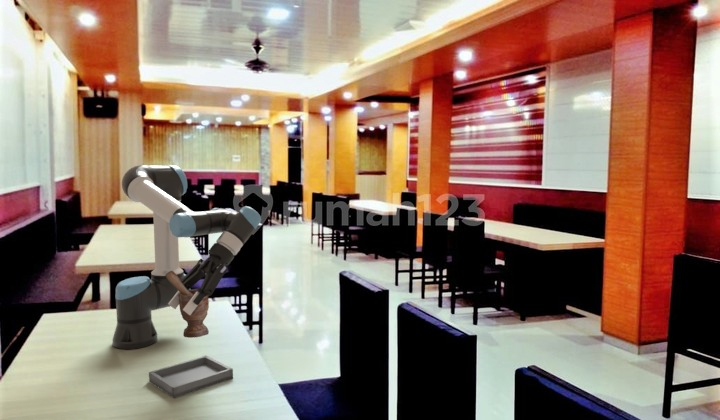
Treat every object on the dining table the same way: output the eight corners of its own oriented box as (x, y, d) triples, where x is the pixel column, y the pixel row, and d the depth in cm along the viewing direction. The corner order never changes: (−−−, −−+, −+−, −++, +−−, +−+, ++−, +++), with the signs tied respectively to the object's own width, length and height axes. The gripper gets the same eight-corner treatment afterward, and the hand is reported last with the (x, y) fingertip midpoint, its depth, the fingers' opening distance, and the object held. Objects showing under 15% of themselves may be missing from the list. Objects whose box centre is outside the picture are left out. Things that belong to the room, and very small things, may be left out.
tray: (149, 381, 160) (148, 372, 159) (206, 364, 173) (206, 355, 173) (173, 398, 149) (173, 387, 148) (233, 378, 162) (232, 368, 162)
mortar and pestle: (174, 343, 153) (170, 274, 151) (166, 335, 160) (163, 270, 158) (213, 335, 159) (210, 269, 158) (205, 328, 166) (202, 265, 165)
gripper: (251, 260, 161) (205, 323, 151) (215, 252, 176) (171, 309, 166) (236, 245, 157) (187, 309, 147) (200, 238, 172) (153, 296, 162)
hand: (178, 309), depth 157 cm, fingers closed on mortar and pestle, 9 cm apart
